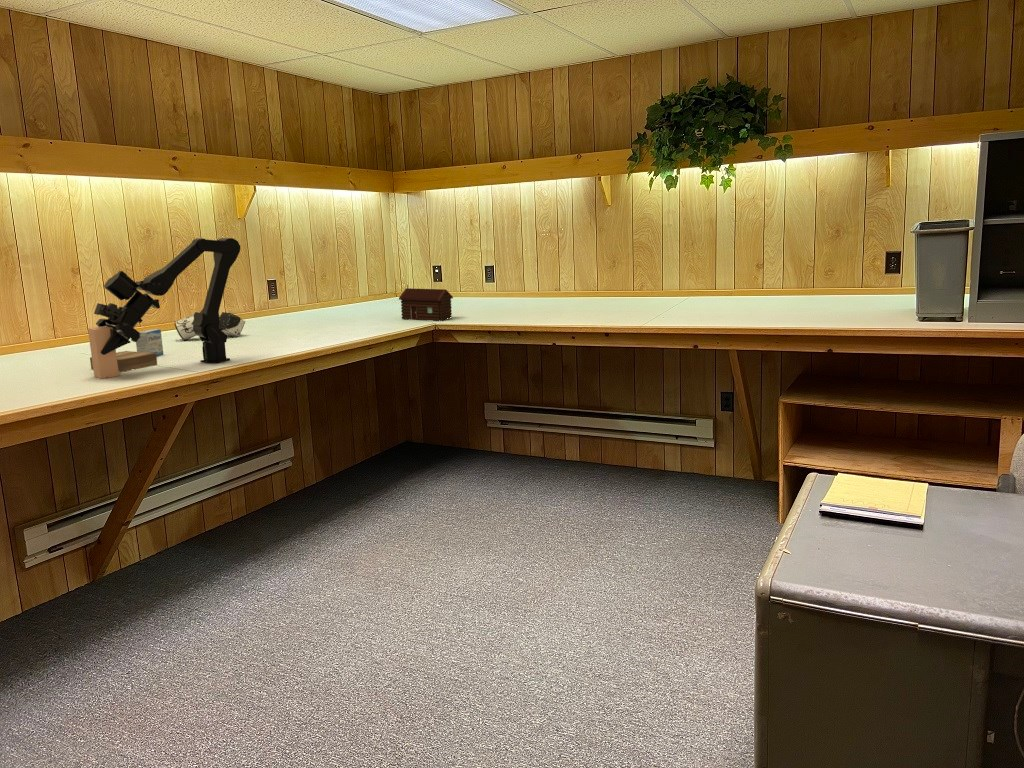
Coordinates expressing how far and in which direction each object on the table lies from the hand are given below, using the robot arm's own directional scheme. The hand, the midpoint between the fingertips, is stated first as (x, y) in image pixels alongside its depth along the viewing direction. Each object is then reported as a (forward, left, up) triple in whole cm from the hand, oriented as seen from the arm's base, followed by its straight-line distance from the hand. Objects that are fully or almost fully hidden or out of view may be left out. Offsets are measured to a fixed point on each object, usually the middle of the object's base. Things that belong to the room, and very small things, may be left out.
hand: (98, 352), depth 225 cm
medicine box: (+16, -31, -7) cm, 36 cm away
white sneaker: (+28, -70, -7) cm, 75 cm away
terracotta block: (0, -1, -7) cm, 7 cm away
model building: (-22, -147, -7) cm, 149 cm away
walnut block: (+8, -14, -7) cm, 18 cm away
